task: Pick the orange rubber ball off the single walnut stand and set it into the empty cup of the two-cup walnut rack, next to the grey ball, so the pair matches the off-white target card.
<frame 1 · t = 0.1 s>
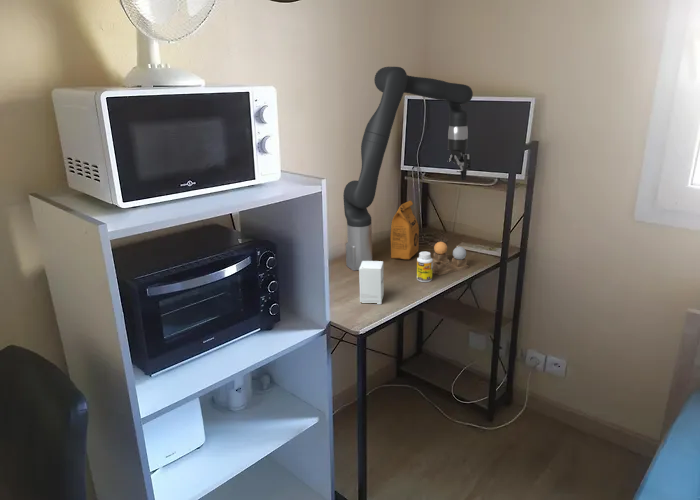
hand: (456, 177, 219), 29 cm above the table, tool pointing down, fingers open, 8 cm apart
stand single: (440, 261, 212), on the table
supplement box: (372, 300, 181), on the table
rack: (449, 269, 204), on the table
coffee package: (405, 256, 220), on the table
ball grey: (459, 253, 204), point 6 cm above the table, touching rack
ball orange: (440, 248, 210), point 6 cm above the table, touching stand single
target card: (434, 266, 208), on the table
supplement bottle: (424, 280, 196), on the table
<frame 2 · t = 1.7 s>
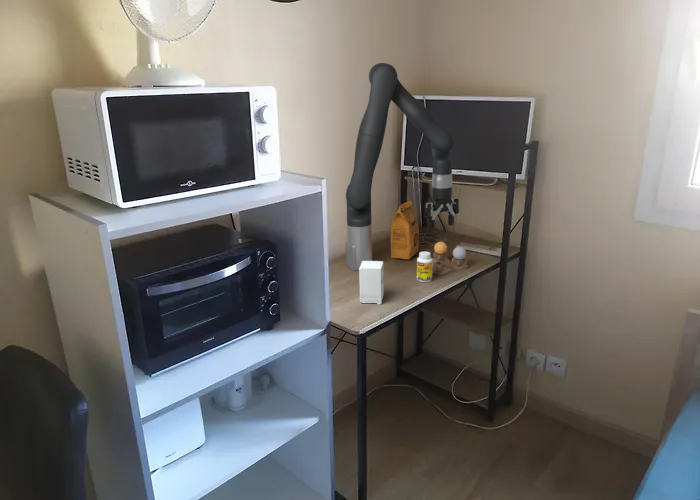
hand: (441, 226, 207), 14 cm above the table, tool pointing down, fingers open, 8 cm apart
nothing on the table moved.
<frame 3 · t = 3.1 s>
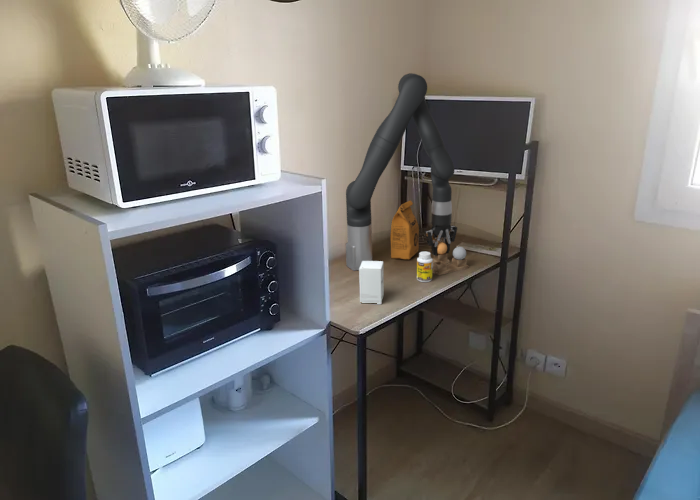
hand: (440, 253, 211), 3 cm above the table, tool pointing down, fingers closed on ball orange, 5 cm apart
ball orange: (440, 248, 210), point 6 cm above the table, touching gripper, stand single
everything else where it was.
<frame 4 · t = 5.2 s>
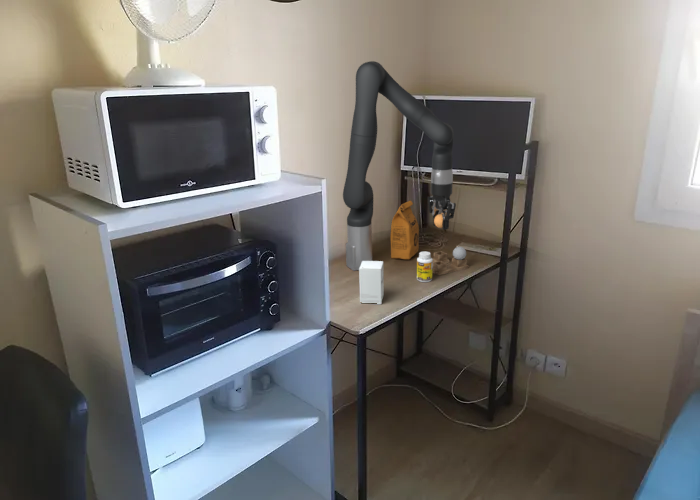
hand: (440, 227, 197), 17 cm above the table, tool pointing down, fingers closed on ball orange, 5 cm apart
ball orange: (440, 221, 196), point 20 cm above the table, touching gripper
everything else where it was.
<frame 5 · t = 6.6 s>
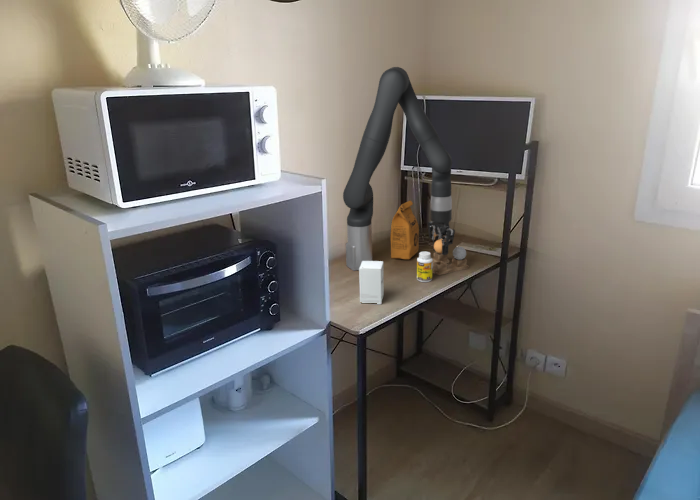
hand: (440, 252, 200), 8 cm above the table, tool pointing down, fingers closed on ball orange, 5 cm apart
ball orange: (440, 246, 199), point 10 cm above the table, touching gripper
everything else where it was.
when the fingers open (4 cm above the table, at t = 7.6 s): ball orange drops 1 cm, resting on rack.
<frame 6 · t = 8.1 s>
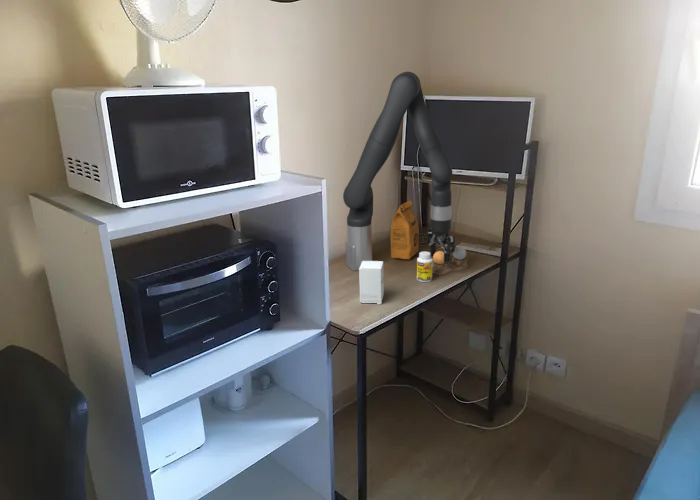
hand: (439, 259, 201), 5 cm above the table, tool pointing down, fingers open, 8 cm apart
ball orange: (439, 257, 201), point 6 cm above the table, touching rack
everything else where it was.
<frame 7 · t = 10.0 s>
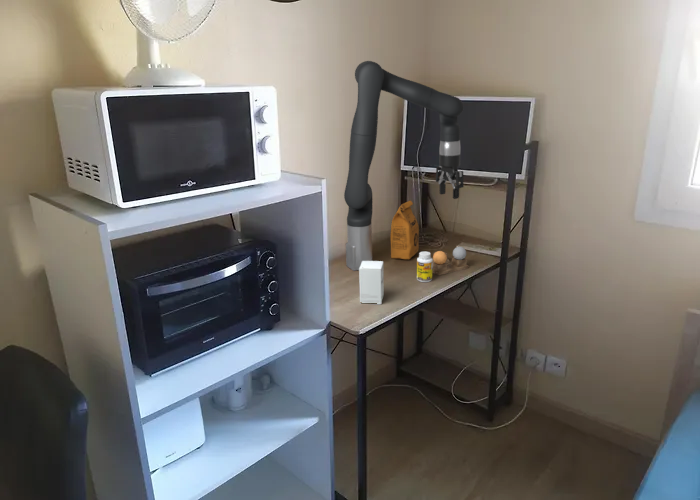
hand: (448, 196, 204), 26 cm above the table, tool pointing down, fingers open, 8 cm apart
nothing on the table moved.
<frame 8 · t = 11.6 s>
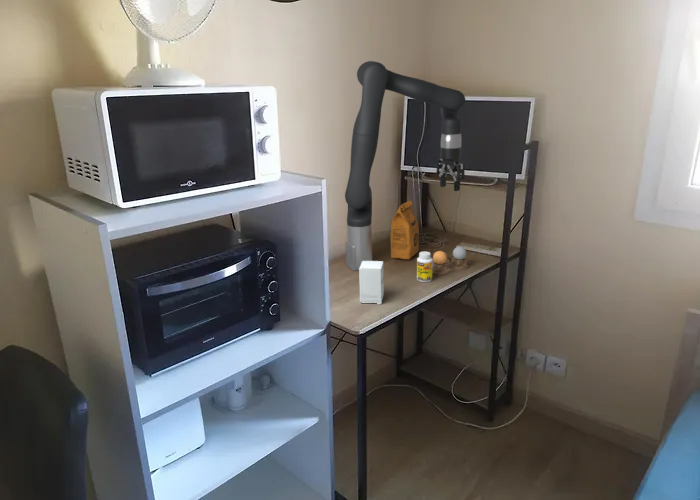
hand: (449, 188, 207), 28 cm above the table, tool pointing down, fingers open, 8 cm apart
nothing on the table moved.
at the end: ball orange 0.0 cm from the target spot on the rack, point 5.6 cm above the rack's base; ball grey moved 0.1 cm from its start; the gripper is holding nothing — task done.
